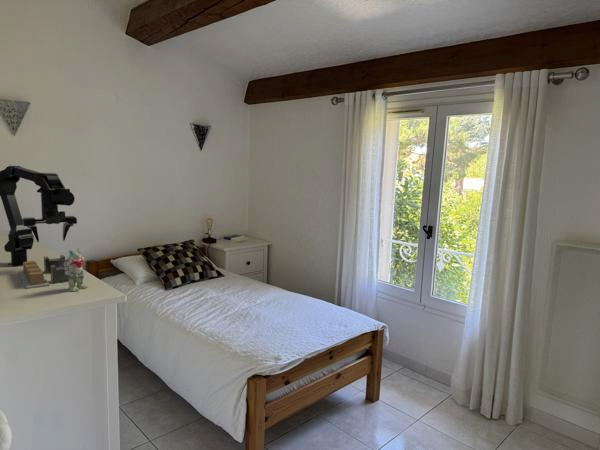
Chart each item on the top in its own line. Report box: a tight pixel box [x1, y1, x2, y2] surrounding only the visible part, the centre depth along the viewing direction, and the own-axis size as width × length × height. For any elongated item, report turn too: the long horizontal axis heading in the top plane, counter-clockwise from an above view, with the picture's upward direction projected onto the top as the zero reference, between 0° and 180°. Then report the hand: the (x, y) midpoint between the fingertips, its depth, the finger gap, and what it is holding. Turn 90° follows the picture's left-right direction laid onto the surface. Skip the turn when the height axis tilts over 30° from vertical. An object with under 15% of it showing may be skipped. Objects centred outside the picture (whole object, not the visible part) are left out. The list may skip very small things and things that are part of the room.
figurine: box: [62, 247, 89, 293], centre depth 145 cm, size 8×8×15 cm
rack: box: [43, 254, 70, 284], centre depth 160 cm, size 20×7×6 cm, turn 40°
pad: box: [18, 270, 50, 290], centre depth 155 cm, size 25×7×1 cm, turn 40°
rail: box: [22, 260, 45, 285], centre depth 155 cm, size 22×4×4 cm, turn 40°
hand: (51, 241), depth 168 cm, fingers open, 9 cm apart
